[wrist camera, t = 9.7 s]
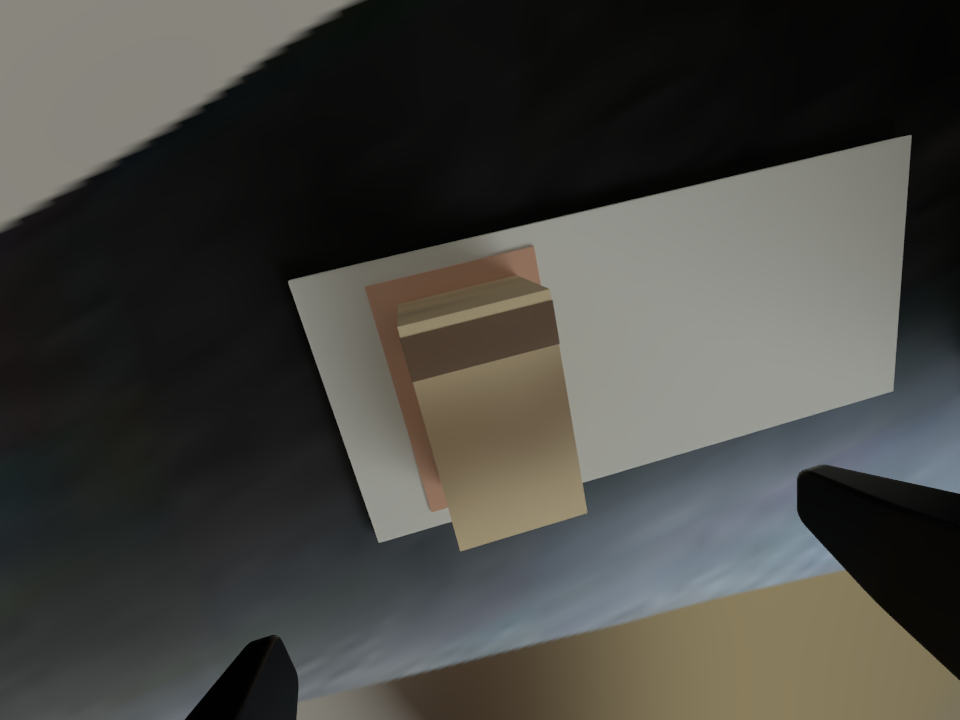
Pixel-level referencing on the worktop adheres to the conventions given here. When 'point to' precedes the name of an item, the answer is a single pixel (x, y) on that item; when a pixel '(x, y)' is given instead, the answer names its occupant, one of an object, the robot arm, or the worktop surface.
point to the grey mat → (643, 319)
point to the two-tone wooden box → (494, 406)
